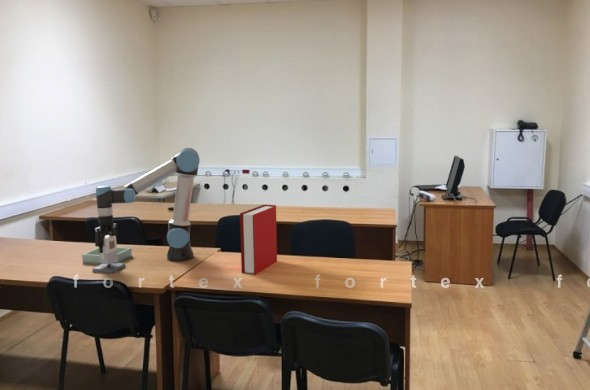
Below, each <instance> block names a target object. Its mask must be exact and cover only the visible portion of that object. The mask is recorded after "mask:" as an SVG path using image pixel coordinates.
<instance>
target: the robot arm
mask: <svg viewBox="0 0 590 390" xmlns="http://www.w3.org/2000/svg"><path fill="white" fill-rule="evenodd" d="M170 158H171V159H169V160H168V161H166V162H164V163H163V164H161V165H159V166H158V167H156V168H153V169H152V170H151V171H148V172H146V173H145V174H144V175H141V176H139V177H138V178H136V179H134V180H133V181H131V182H129V183H127V184H125V185H123V186H122V187H120V189H119V188H118V189H117V188H116V189H112V188H111V186H110V185H99V186H97V187H96V188H95V198H96V209H97V210H96V211H97V215H98V216H97V221H98V227H95V228H93V231H94V235H95V236H94V242H95V243H94V245H95V247H97V248H99V252H100V253H101V258H102V259H105V247H103V244H104V238H105V236H106V235H107V233H108V235H109V236H116V243H117V244H118V243H119V241H120V235H119V229H118V227H119V224H118V223H114V215H113V214H114V212H113V205H115V204H132V203H135V202H136V196H137V195H139V194H140V193H142V192H144V191H145V190H148V189H149V188H151V187H153V186H155V185H156V184H158V183H160V182H163V181H164V180H165V179H167V178H170V177H171V176H173V175H174V174H176V176H177V180H176V181H177V182H176V187H175V188H176V189H175V196H174V204H173V212H172V219H169V220H168V223H167V225H168V227H167V229H168V230H167V234H166V241H167V244H168V245H169V246H168V250H167V253H166V259H167V261H169V262H170V261H171V262H185V261H190V260H192V259H194V258H195V256H194V254H195V253H194V250H193V248H192V246H191V239H190V237H191V236H190V232H191V225H192V223H191V222H190V221H189V220H190V219H189V217H190V212H191V211H190V210H191V205H192V204H191V203H192V196H193V189H194V181H195V178H196V177H198V173H199V172H198V171H199V165H200V156H199V153H198V152H197V150H196V149H193V148H192V147H185V148H183V149H181V150H180V151H179V152H178V153H177V154H175V155H174V156H172V157H170Z"/></svg>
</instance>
